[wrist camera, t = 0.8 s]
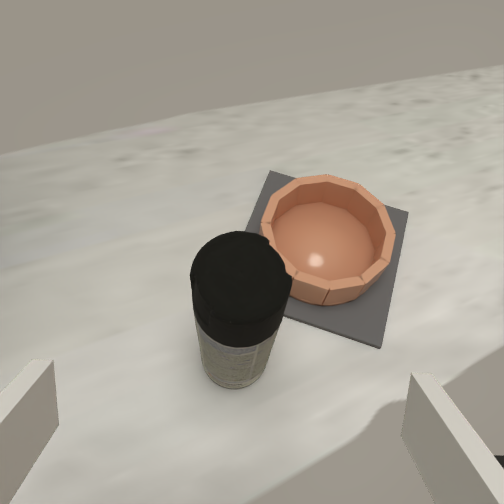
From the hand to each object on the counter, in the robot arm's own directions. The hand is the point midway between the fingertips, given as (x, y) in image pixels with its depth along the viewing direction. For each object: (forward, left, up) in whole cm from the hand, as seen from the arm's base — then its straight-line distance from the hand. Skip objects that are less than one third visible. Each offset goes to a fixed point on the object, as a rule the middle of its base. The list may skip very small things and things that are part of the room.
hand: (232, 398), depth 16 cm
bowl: (+2, +24, -27) cm, 36 cm away
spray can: (-3, +9, -28) cm, 29 cm away
